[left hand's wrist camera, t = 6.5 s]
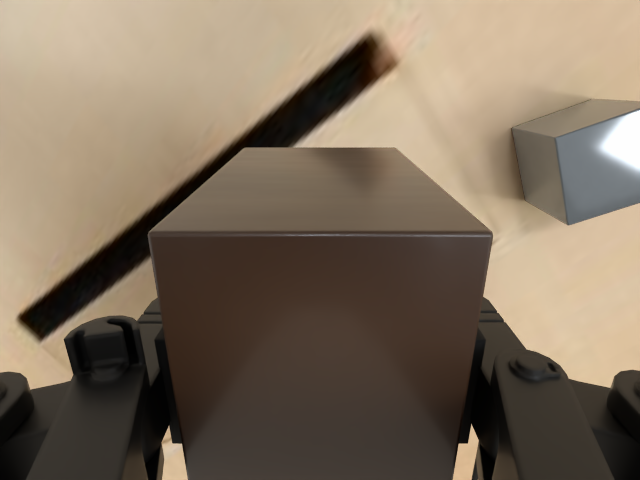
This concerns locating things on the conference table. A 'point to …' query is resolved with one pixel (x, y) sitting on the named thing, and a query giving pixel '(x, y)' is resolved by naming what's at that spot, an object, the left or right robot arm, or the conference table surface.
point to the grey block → (581, 159)
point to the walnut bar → (320, 317)
